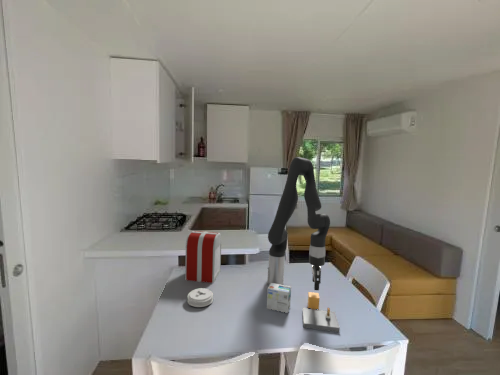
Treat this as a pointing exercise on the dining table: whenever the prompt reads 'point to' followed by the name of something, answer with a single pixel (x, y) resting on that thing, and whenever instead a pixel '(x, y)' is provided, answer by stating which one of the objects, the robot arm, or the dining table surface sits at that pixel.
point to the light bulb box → (278, 297)
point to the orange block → (313, 300)
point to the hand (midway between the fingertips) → (315, 285)
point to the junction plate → (320, 320)
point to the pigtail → (328, 314)
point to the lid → (200, 297)
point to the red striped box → (203, 256)
